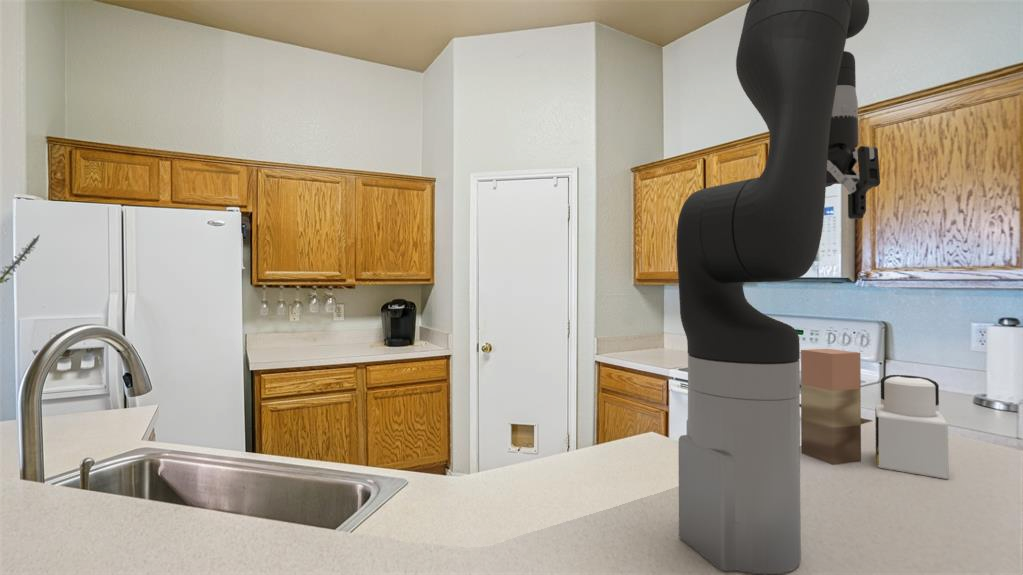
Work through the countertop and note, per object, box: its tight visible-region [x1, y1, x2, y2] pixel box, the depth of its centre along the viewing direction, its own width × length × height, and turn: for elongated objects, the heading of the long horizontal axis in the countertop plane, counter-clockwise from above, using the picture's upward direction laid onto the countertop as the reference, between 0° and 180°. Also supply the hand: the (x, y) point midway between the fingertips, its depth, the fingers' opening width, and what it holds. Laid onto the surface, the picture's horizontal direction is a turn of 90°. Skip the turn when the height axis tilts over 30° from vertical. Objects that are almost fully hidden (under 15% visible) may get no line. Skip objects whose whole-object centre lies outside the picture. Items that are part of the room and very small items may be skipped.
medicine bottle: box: [874, 374, 950, 480], centre depth 65 cm, size 7×7×12 cm
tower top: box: [800, 383, 862, 428], centre depth 69 cm, size 5×5×5 cm
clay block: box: [800, 348, 862, 391], centre depth 69 cm, size 5×5×5 cm
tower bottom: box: [800, 418, 862, 466], centre depth 69 cm, size 5×5×5 cm
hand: (830, 222), depth 78 cm, fingers open, 8 cm apart
